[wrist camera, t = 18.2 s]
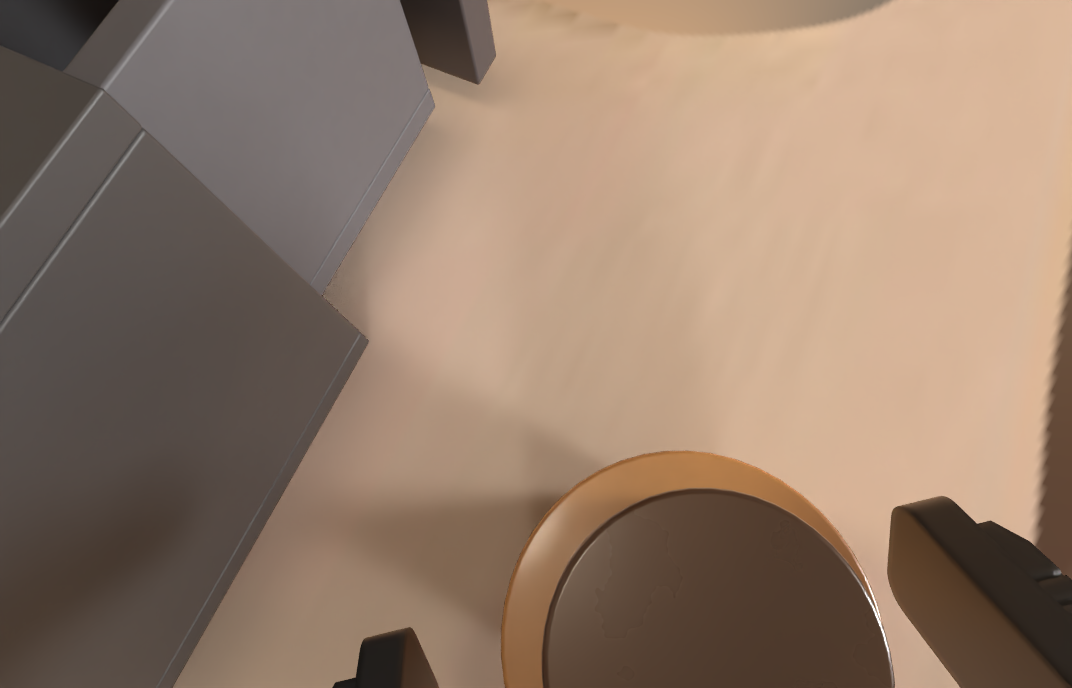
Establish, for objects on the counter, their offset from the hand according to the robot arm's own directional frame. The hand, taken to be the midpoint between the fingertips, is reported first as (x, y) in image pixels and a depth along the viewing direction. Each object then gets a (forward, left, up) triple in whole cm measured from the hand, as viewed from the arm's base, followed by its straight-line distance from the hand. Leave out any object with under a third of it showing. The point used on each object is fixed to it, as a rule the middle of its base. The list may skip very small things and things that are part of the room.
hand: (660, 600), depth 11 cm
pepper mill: (0, 0, -5) cm, 5 cm away
